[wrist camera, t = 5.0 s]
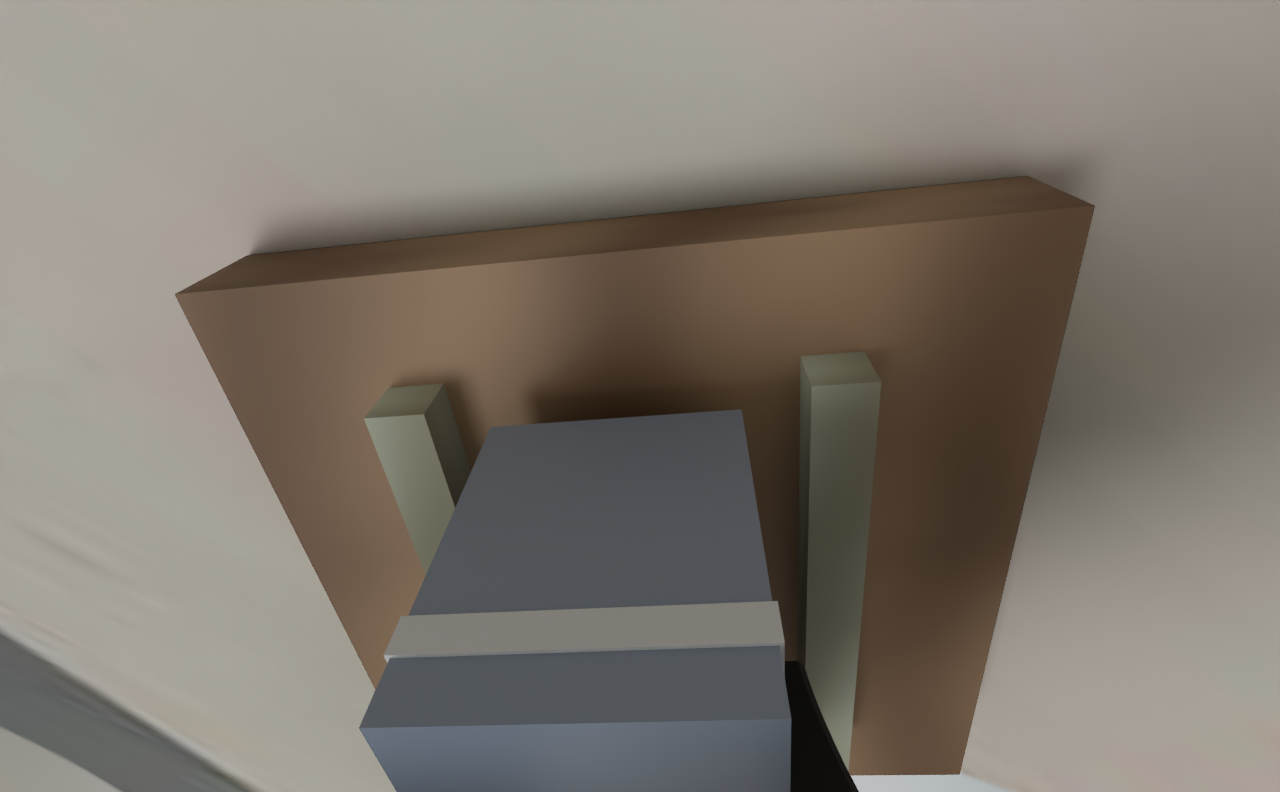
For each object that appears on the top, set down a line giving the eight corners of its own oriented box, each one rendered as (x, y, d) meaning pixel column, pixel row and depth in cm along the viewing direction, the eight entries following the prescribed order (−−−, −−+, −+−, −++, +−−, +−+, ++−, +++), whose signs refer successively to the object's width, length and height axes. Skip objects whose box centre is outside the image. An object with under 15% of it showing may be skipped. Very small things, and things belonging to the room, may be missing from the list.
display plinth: (1027, 175, 11) (1139, 224, 8) (932, 700, 18) (975, 817, 15) (246, 255, 12) (128, 318, 9) (444, 710, 19) (407, 818, 16)
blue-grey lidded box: (744, 406, 10) (797, 716, 6) (756, 716, 14) (790, 1027, 10) (487, 424, 10) (351, 726, 6) (572, 719, 14) (529, 1020, 10)
